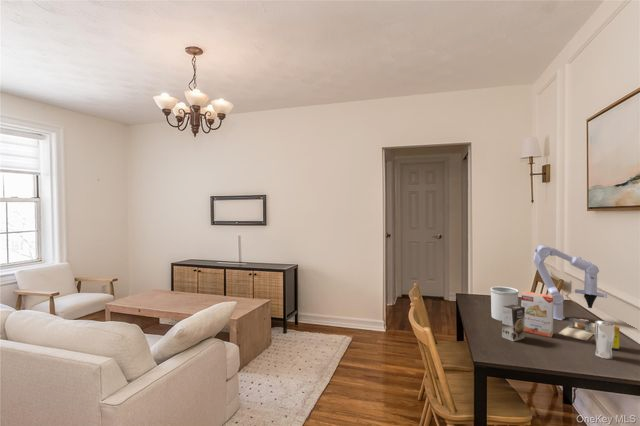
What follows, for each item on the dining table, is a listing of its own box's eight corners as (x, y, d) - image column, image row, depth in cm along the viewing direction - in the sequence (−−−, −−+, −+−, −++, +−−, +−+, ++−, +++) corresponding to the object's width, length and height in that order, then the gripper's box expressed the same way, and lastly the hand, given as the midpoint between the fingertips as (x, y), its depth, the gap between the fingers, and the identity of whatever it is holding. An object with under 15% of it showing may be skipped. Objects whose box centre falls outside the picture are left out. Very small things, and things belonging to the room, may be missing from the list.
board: (558, 333, 177) (558, 333, 177) (576, 320, 199) (576, 319, 199) (586, 340, 168) (586, 340, 168) (602, 325, 189) (602, 325, 189)
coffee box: (513, 342, 166) (514, 309, 166) (501, 337, 172) (502, 306, 172) (524, 338, 171) (525, 307, 170) (512, 334, 176) (513, 303, 176)
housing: (568, 327, 185) (568, 319, 185) (570, 326, 188) (571, 317, 188) (589, 332, 178) (589, 323, 178) (591, 330, 181) (591, 321, 181)
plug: (582, 322, 194) (583, 316, 194) (591, 324, 191) (591, 318, 191) (577, 326, 187) (577, 320, 187) (586, 328, 184) (586, 322, 184)
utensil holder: (491, 320, 197) (491, 290, 197) (488, 312, 211) (489, 285, 211) (520, 323, 192) (520, 293, 191) (515, 315, 206) (516, 287, 205)
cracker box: (520, 331, 180) (521, 292, 180) (522, 328, 185) (523, 290, 185) (551, 338, 171) (552, 297, 171) (553, 334, 176) (554, 295, 175)
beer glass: (589, 352, 154) (590, 320, 154) (603, 352, 155) (604, 320, 155) (603, 359, 148) (604, 326, 147) (618, 359, 148) (619, 325, 148)
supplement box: (619, 350, 157) (620, 327, 157) (604, 349, 159) (605, 326, 158) (611, 345, 163) (611, 322, 163) (597, 344, 164) (597, 321, 164)
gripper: (573, 283, 198) (572, 305, 199) (605, 287, 187) (604, 312, 187) (576, 281, 203) (576, 303, 203) (608, 286, 192) (607, 309, 192)
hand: (590, 307), depth 196 cm, fingers closed
